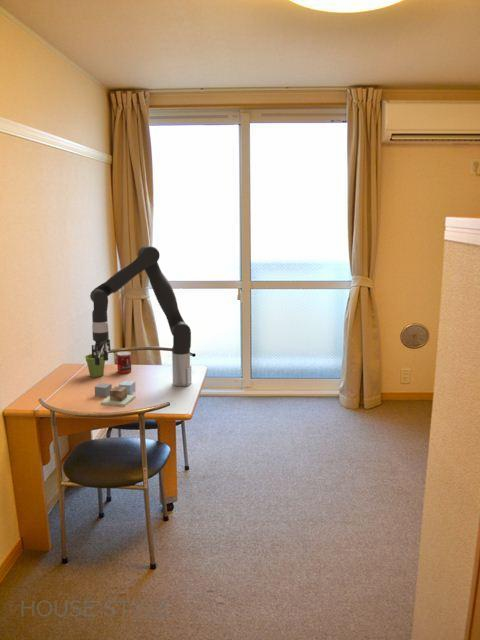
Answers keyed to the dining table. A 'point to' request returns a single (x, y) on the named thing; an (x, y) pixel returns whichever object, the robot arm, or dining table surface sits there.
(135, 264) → the robot arm
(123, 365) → the canned food
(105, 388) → the grey block
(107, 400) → the plate
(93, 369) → the plant pot
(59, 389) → the dining table surface
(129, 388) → the blue block
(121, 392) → the walnut block
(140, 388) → the dining table surface
